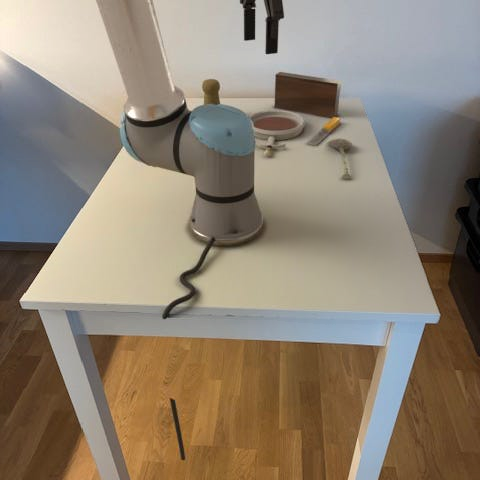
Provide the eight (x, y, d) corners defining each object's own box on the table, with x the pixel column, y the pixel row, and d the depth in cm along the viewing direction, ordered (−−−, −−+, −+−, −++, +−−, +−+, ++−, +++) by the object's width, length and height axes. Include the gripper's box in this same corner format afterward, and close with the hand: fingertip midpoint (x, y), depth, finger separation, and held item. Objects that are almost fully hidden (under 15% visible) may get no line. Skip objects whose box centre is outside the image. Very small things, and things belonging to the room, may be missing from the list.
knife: (316, 145, 132) (317, 139, 131) (308, 144, 133) (308, 138, 132) (340, 123, 143) (340, 118, 142) (332, 122, 144) (333, 116, 143)
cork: (213, 113, 151) (211, 75, 143) (226, 118, 147) (225, 79, 140) (198, 118, 148) (196, 80, 140) (211, 124, 144) (209, 84, 137)
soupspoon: (350, 145, 133) (326, 146, 134) (351, 133, 131) (326, 133, 132) (359, 179, 116) (331, 180, 117) (360, 166, 114) (332, 167, 115)
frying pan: (234, 147, 126) (250, 107, 146) (235, 158, 128) (250, 117, 148) (300, 151, 124) (307, 109, 144) (299, 161, 126) (306, 119, 146)
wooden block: (333, 118, 146) (337, 83, 140) (274, 107, 154) (275, 74, 147) (337, 115, 148) (341, 80, 142) (278, 104, 156) (279, 71, 149)
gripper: (304, -64, 93) (297, 57, 108) (255, -73, 111) (255, 33, 125) (268, -62, 91) (266, 61, 106) (224, -71, 109) (227, 36, 123)
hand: (260, 46), depth 115 cm, fingers open, 13 cm apart
